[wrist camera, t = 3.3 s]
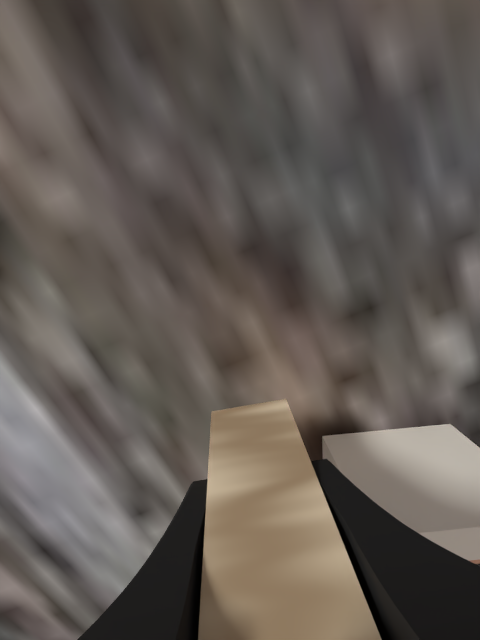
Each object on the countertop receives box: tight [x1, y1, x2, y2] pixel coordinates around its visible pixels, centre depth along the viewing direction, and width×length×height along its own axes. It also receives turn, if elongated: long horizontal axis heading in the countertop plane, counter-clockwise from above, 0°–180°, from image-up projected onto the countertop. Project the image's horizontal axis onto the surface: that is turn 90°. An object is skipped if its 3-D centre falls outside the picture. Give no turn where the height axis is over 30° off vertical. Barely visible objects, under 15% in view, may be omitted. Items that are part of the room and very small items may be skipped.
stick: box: [198, 399, 382, 640], centre depth 10 cm, size 3×3×10 cm
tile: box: [322, 424, 480, 564], centre depth 19 cm, size 8×2×8 cm, turn 94°
